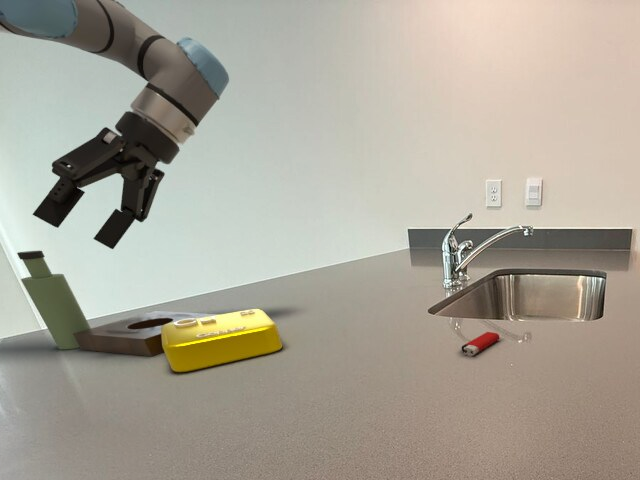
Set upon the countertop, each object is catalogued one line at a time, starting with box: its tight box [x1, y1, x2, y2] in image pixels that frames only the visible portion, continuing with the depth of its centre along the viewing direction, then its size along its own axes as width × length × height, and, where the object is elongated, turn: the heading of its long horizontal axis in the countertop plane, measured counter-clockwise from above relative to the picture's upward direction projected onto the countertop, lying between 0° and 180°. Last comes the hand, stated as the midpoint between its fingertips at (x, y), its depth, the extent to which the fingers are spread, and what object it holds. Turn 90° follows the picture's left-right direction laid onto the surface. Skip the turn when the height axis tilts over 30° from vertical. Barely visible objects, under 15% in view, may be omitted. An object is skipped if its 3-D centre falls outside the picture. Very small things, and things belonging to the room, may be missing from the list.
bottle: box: [16, 250, 92, 350], centre depth 69 cm, size 5×5×16 cm
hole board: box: [73, 310, 220, 357], centre depth 74 cm, size 16×14×3 cm
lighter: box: [461, 331, 500, 357], centre depth 66 cm, size 3×1×8 cm
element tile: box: [161, 308, 283, 373], centre depth 67 cm, size 15×15×5 cm
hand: (76, 234), depth 65 cm, fingers open, 13 cm apart
